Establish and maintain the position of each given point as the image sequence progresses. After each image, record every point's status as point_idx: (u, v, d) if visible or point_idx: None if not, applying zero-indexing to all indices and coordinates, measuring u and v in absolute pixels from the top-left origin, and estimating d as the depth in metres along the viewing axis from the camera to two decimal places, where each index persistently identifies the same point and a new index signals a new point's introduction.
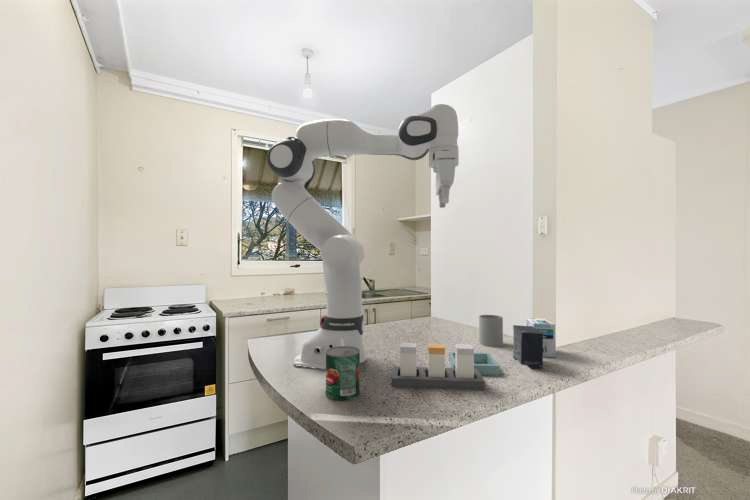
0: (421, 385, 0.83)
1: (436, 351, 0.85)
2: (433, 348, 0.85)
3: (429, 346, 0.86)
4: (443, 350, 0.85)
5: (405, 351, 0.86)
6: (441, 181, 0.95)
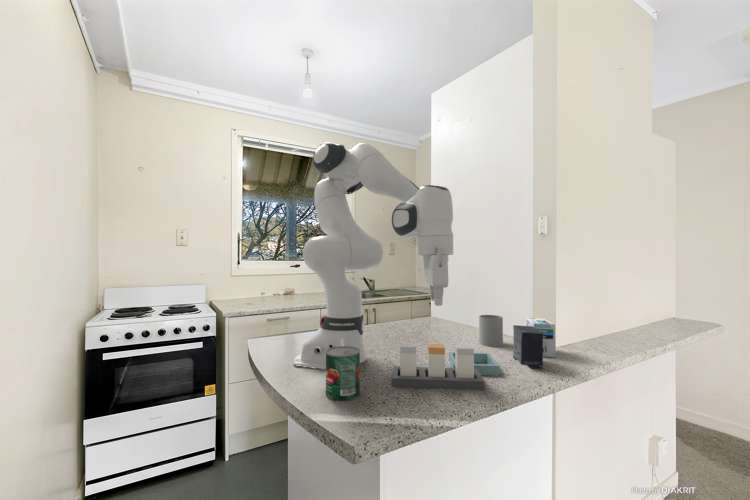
0: (421, 385, 0.83)
1: (436, 351, 0.85)
2: (433, 348, 0.85)
3: (429, 346, 0.86)
4: (443, 350, 0.85)
5: (405, 351, 0.86)
6: None
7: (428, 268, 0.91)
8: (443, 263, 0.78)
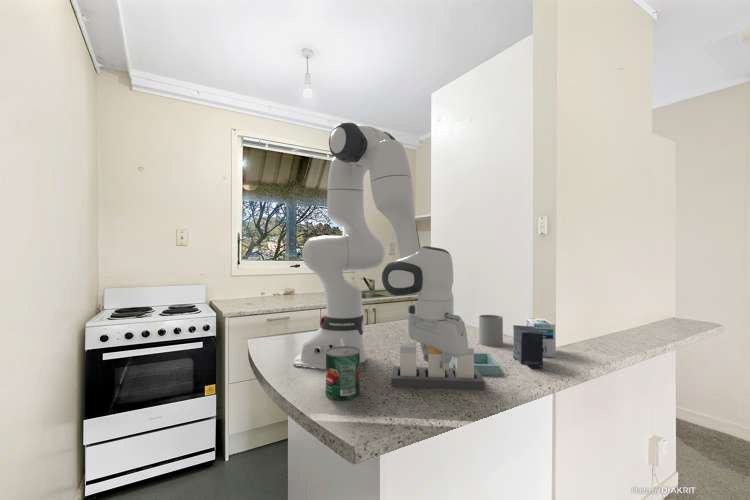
0: (421, 385, 0.83)
1: (436, 351, 0.85)
2: (433, 348, 0.85)
3: (429, 346, 0.86)
4: None
5: (405, 351, 0.86)
6: None
7: (422, 328, 0.90)
8: None
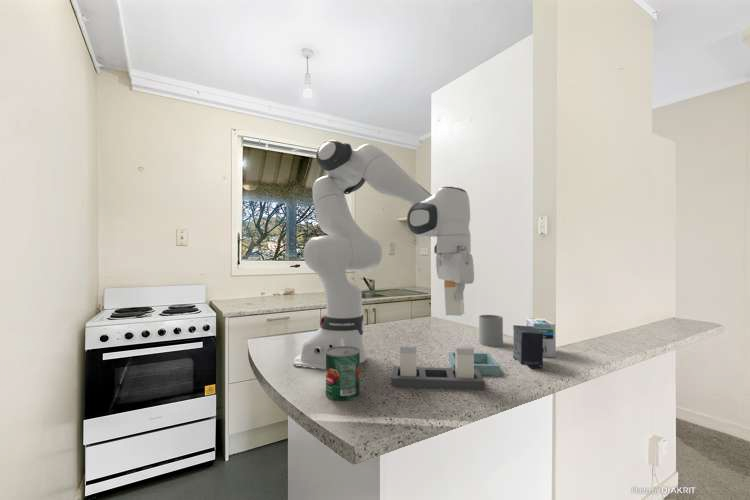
0: (421, 385, 0.83)
1: (451, 284, 0.90)
2: (448, 281, 0.91)
3: None
4: None
5: (405, 351, 0.86)
6: None
7: (444, 265, 0.96)
8: (469, 261, 0.83)
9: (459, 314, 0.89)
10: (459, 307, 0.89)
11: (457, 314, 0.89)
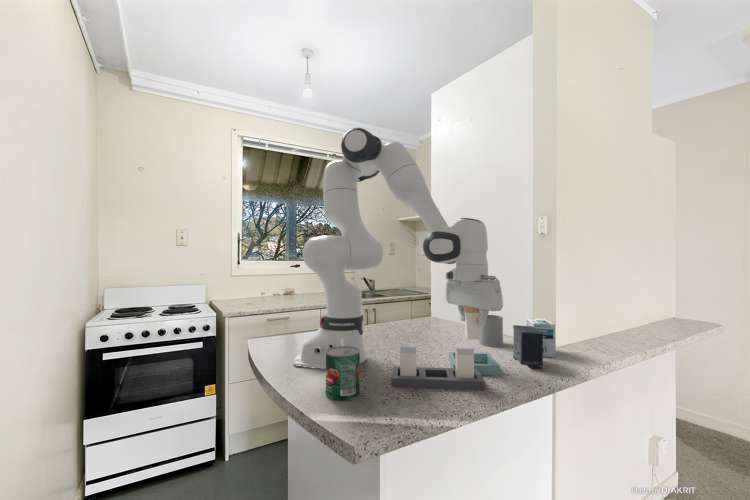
0: (421, 385, 0.83)
1: (473, 310, 0.96)
2: (470, 308, 0.96)
3: None
4: None
5: (405, 351, 0.86)
6: None
7: (459, 291, 1.01)
8: None
9: (480, 338, 0.96)
10: (480, 331, 0.96)
11: (478, 338, 0.96)
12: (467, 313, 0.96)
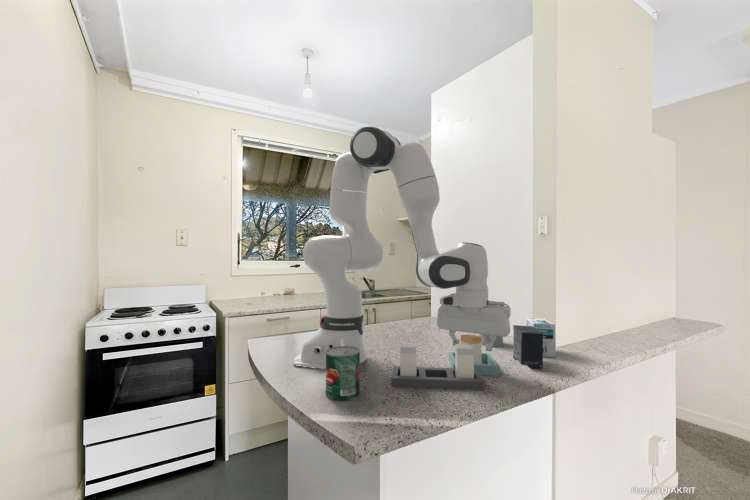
0: (421, 385, 0.83)
1: (475, 340, 0.96)
2: (473, 338, 0.96)
3: (468, 337, 0.96)
4: (480, 339, 0.97)
5: (405, 351, 0.86)
6: None
7: (457, 317, 0.99)
8: None
9: None
10: (480, 361, 0.97)
11: None
12: (471, 344, 0.96)
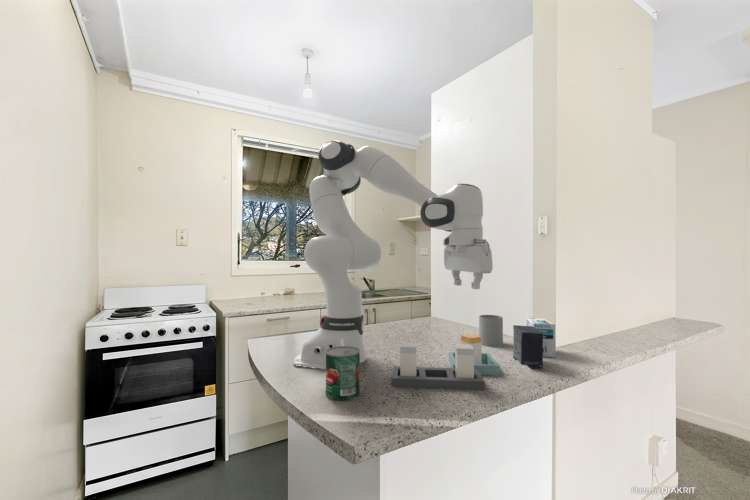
0: (421, 385, 0.83)
1: (475, 340, 0.96)
2: (473, 338, 0.96)
3: (468, 337, 0.96)
4: (480, 339, 0.97)
5: (405, 351, 0.86)
6: None
7: (455, 257, 1.03)
8: (488, 252, 0.91)
9: None
10: (480, 361, 0.97)
11: None
12: (471, 344, 0.96)
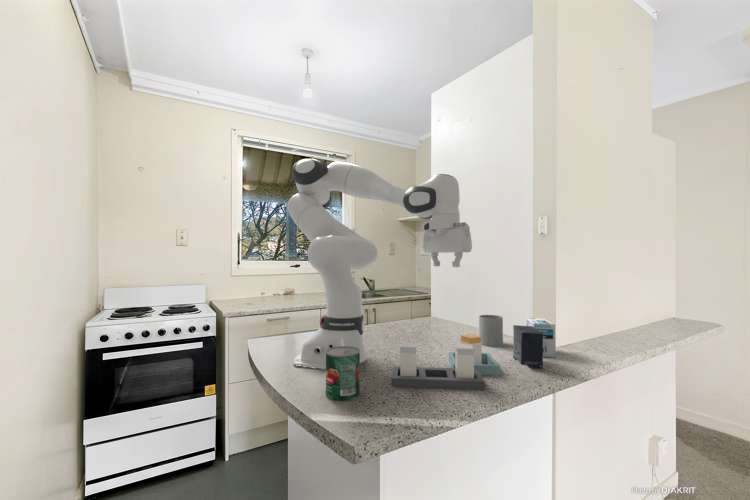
0: (421, 385, 0.83)
1: (475, 340, 0.96)
2: (473, 338, 0.96)
3: (468, 337, 0.96)
4: (480, 339, 0.97)
5: (405, 351, 0.86)
6: None
7: (434, 240, 1.14)
8: (468, 234, 1.04)
9: None
10: (480, 361, 0.97)
11: None
12: (471, 344, 0.96)
